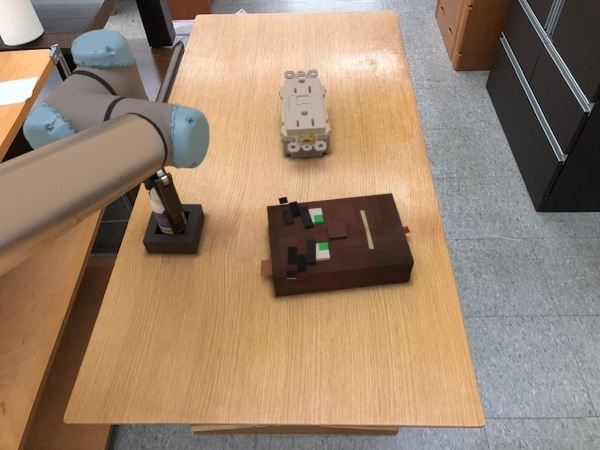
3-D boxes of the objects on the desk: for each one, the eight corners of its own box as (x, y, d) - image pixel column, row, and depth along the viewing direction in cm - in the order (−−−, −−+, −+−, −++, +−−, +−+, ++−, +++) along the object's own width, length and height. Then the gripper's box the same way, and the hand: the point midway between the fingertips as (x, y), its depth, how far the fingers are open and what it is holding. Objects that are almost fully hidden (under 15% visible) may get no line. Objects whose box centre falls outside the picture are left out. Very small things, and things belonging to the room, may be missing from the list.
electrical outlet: (323, 95, 121) (323, 63, 113) (332, 174, 105) (334, 144, 96) (280, 97, 121) (277, 66, 113) (283, 177, 105) (280, 147, 96)
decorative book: (430, 263, 78) (258, 282, 77) (422, 286, 84) (263, 304, 83) (402, 184, 90) (254, 200, 89) (397, 209, 96) (258, 223, 95)
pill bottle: (186, 232, 90) (174, 200, 82) (159, 236, 89) (144, 204, 82) (187, 212, 93) (175, 179, 85) (161, 215, 93) (146, 183, 85)
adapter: (196, 254, 90) (192, 242, 87) (148, 253, 91) (141, 241, 88) (205, 216, 96) (201, 203, 93) (159, 215, 97) (154, 203, 94)
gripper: (183, 147, 69) (212, 238, 87) (129, 94, 78) (165, 186, 96) (139, 170, 66) (178, 259, 84) (89, 112, 75) (134, 204, 93)
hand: (171, 220), depth 90 cm, fingers closed on pill bottle, 5 cm apart
